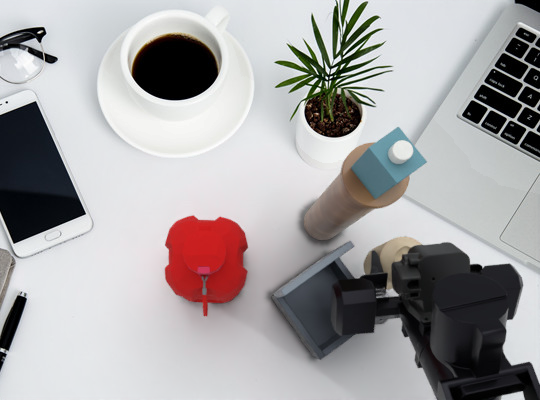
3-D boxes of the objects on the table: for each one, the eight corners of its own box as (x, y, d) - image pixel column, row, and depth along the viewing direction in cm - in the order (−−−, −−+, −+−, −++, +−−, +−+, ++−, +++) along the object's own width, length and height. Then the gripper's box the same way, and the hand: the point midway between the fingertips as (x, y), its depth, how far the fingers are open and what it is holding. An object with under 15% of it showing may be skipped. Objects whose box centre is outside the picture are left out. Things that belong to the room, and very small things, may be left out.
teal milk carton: (401, 180, 55) (433, 157, 47) (375, 199, 55) (402, 179, 47) (376, 149, 56) (403, 120, 48) (350, 167, 56) (372, 142, 47)
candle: (415, 260, 77) (443, 252, 67) (393, 298, 76) (419, 294, 66) (376, 237, 78) (399, 225, 68) (354, 274, 77) (374, 267, 67)
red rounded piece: (174, 314, 84) (154, 315, 59) (176, 234, 86) (158, 203, 61) (242, 317, 83) (250, 318, 58) (243, 236, 85) (252, 205, 60)
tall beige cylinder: (352, 227, 84) (423, 181, 55) (317, 252, 84) (369, 220, 55) (326, 192, 86) (381, 129, 56) (291, 217, 85) (328, 166, 56)
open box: (371, 314, 82) (382, 315, 77) (313, 356, 82) (320, 360, 76) (327, 256, 84) (335, 252, 78) (270, 296, 83) (274, 295, 78)
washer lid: (355, 246, 68) (350, 240, 68) (284, 296, 67) (280, 290, 67) (337, 254, 78) (334, 249, 78) (276, 298, 77) (272, 293, 77)
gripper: (571, 279, 53) (491, 183, 66) (354, 300, 54) (318, 201, 67) (543, 366, 59) (475, 263, 72) (349, 384, 60) (317, 278, 73)
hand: (398, 250), depth 71 cm, fingers closed on candle, 5 cm apart
